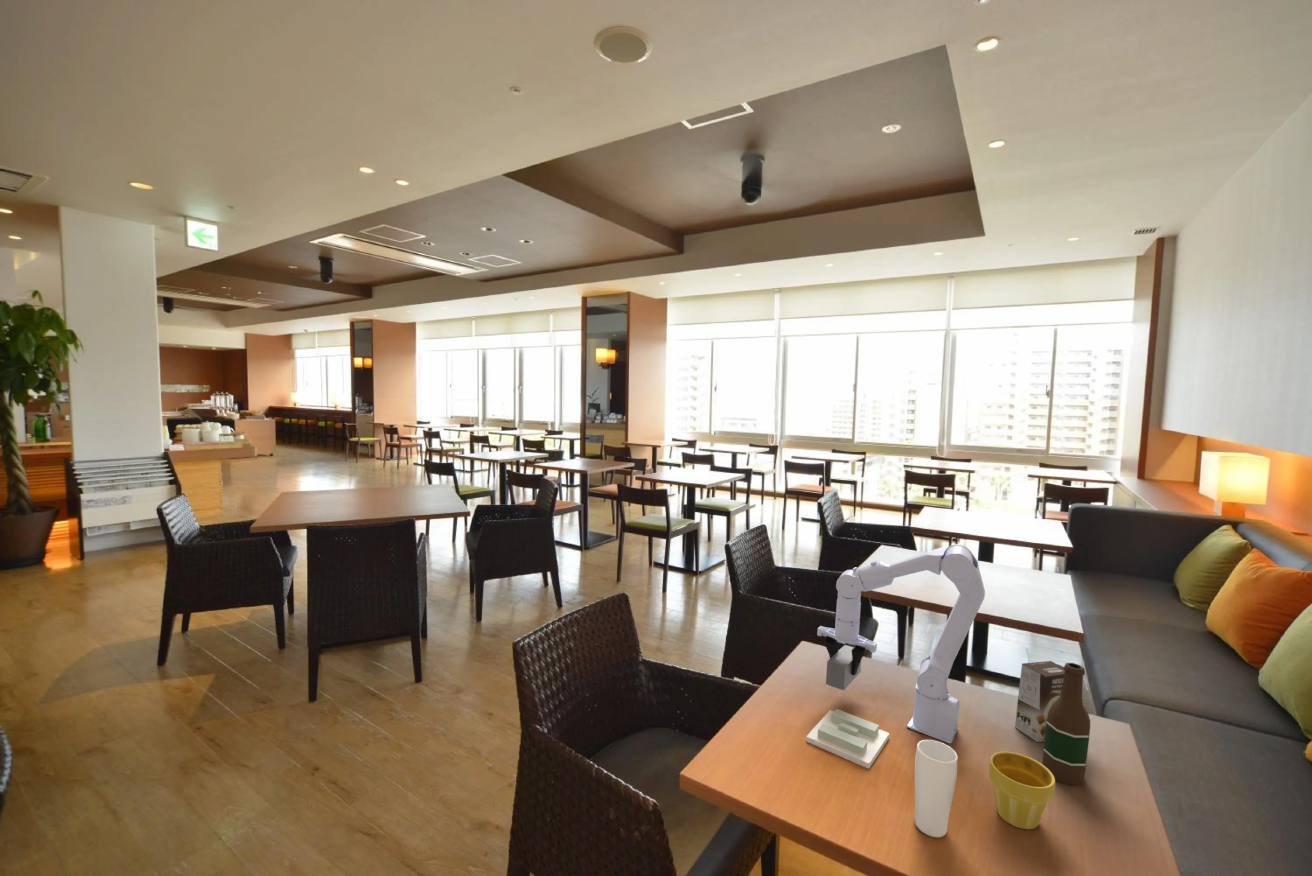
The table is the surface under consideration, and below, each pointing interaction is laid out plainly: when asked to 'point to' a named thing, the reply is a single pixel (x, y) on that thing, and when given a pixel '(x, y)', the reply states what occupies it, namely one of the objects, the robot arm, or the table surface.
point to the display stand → (849, 737)
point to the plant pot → (1020, 788)
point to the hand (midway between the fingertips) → (844, 670)
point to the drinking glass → (934, 786)
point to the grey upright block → (841, 668)
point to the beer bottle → (1068, 730)
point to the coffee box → (1037, 696)
